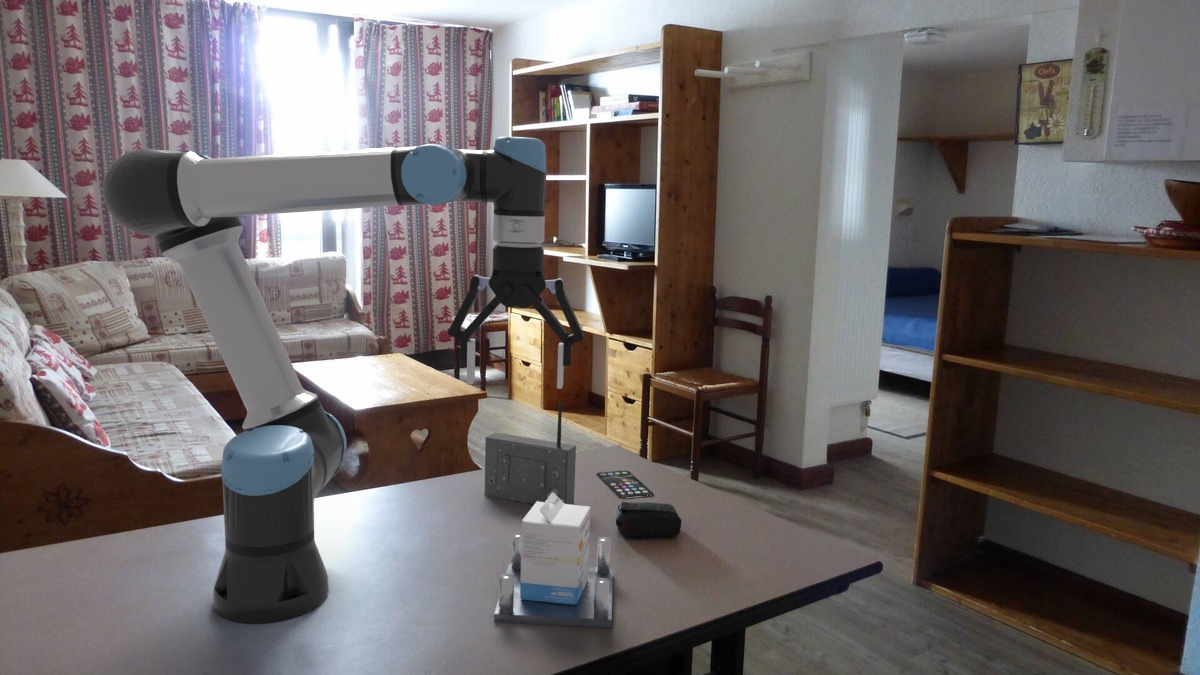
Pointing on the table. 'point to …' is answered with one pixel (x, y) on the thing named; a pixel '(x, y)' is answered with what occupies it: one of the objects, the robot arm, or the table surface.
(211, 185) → the robot arm
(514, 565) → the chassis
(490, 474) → the electronic device
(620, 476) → the smartphone
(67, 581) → the table surface
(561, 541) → the ink box
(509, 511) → the table surface
